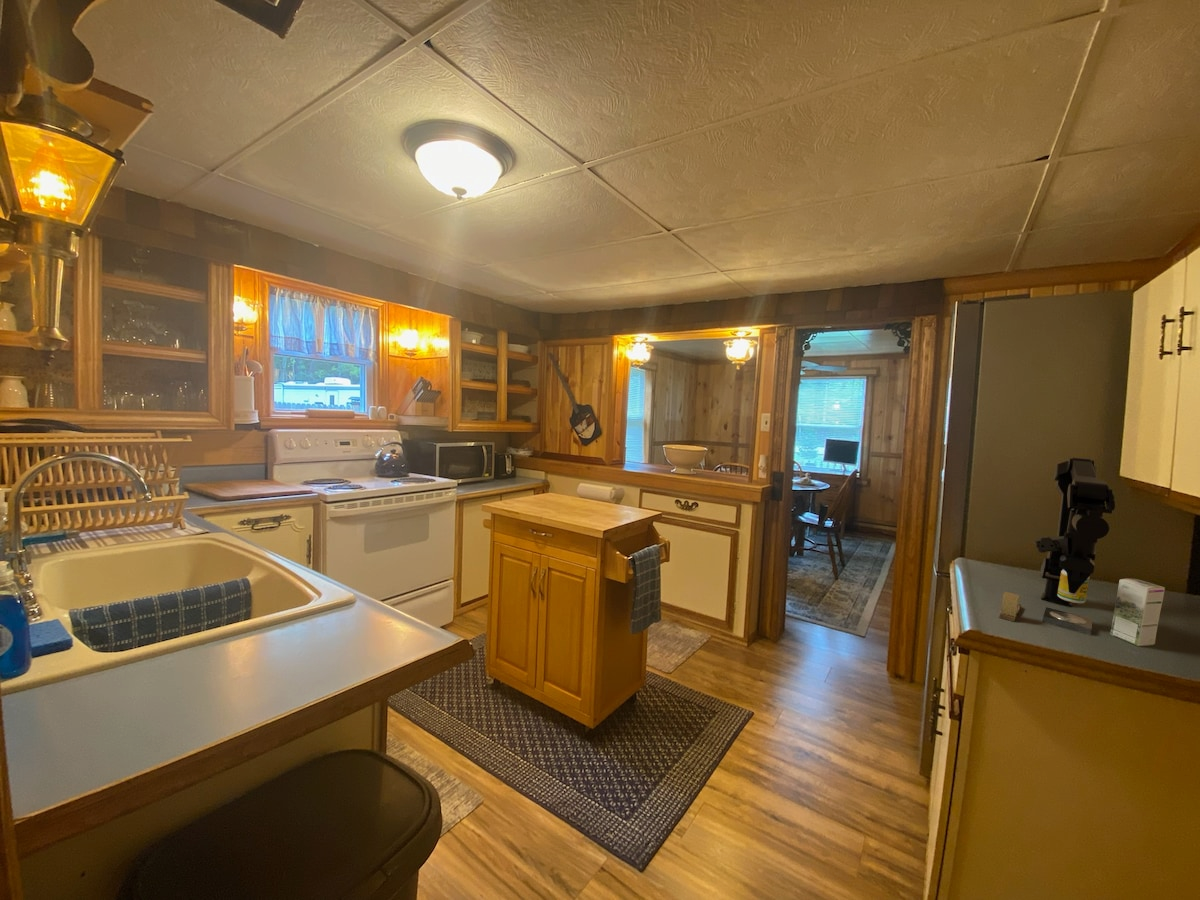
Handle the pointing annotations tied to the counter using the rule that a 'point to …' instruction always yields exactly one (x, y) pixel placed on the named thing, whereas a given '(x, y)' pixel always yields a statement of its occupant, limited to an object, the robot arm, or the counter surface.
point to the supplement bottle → (1072, 597)
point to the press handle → (1010, 604)
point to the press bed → (1068, 620)
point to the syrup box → (1137, 611)
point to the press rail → (1009, 615)
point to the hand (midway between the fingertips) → (1072, 590)
